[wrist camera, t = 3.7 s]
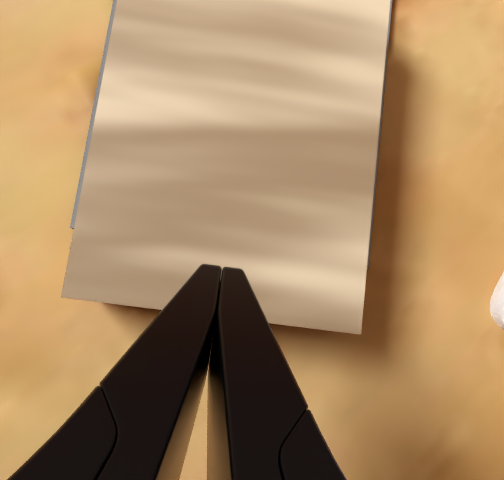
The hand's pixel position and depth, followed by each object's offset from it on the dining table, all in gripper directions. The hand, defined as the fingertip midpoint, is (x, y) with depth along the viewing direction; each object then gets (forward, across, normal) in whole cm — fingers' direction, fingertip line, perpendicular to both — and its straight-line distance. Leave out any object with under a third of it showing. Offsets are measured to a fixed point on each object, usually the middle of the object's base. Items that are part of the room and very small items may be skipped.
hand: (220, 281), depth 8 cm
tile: (+3, 0, +4) cm, 5 cm away
